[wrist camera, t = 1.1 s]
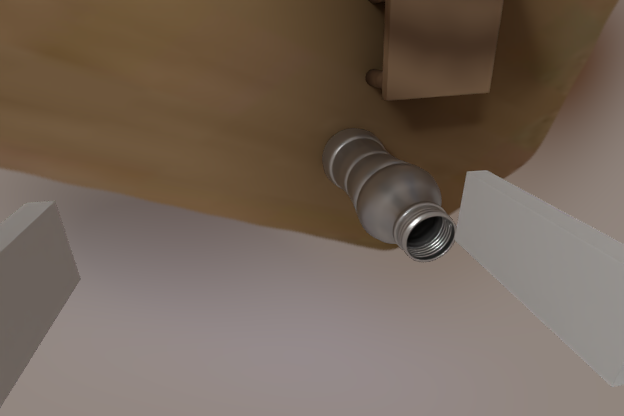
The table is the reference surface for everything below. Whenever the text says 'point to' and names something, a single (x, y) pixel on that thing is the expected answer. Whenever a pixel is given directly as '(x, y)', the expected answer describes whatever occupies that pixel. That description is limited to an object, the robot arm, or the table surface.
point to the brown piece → (437, 48)
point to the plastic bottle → (389, 195)
